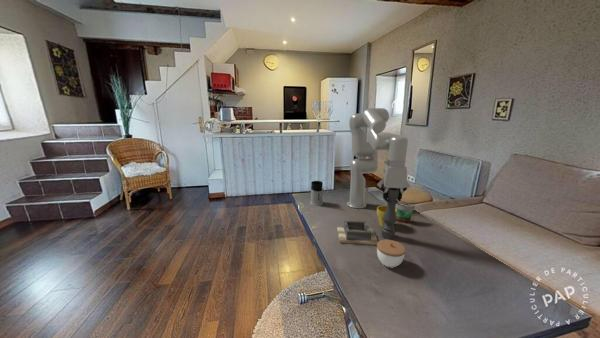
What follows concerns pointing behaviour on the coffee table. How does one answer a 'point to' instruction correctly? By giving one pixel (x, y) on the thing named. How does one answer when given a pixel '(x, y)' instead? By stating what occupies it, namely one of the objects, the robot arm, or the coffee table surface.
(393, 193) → the candle holder
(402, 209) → the food container
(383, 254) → the lidded jar
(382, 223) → the plant pot
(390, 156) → the robot arm
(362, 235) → the socket board
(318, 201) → the glass holder
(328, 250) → the coffee table surface
